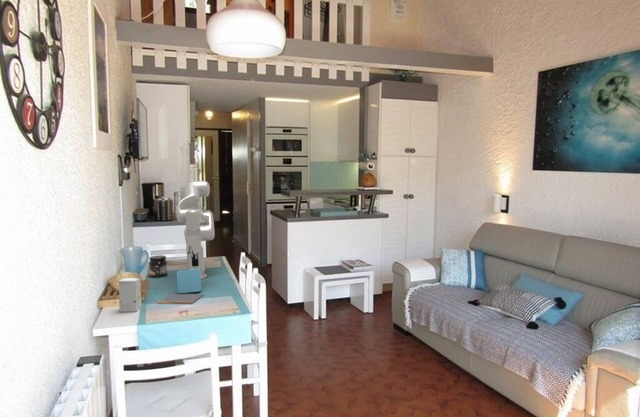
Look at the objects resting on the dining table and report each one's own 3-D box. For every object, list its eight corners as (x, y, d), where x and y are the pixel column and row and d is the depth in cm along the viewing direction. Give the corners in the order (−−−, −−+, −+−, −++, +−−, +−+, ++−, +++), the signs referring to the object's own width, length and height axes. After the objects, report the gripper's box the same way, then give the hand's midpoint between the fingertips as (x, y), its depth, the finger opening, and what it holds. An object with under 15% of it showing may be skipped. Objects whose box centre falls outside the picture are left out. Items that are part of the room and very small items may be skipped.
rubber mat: (171, 294, 235) (171, 293, 235) (204, 295, 233) (203, 294, 233) (158, 302, 222) (158, 301, 222) (193, 303, 219) (193, 302, 219)
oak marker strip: (158, 302, 222) (158, 301, 221) (193, 303, 219) (193, 301, 219) (157, 303, 220) (156, 301, 220) (192, 304, 218) (192, 302, 218)
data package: (201, 291, 241) (199, 268, 243) (201, 291, 237) (200, 268, 238) (177, 293, 237) (176, 270, 239) (177, 293, 233) (176, 270, 235)
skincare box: (119, 312, 209) (117, 280, 207) (125, 308, 215) (122, 277, 213) (137, 311, 209) (135, 280, 207) (142, 307, 215) (140, 277, 213)
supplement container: (147, 276, 279) (145, 257, 278) (163, 273, 286) (162, 254, 285) (153, 278, 271) (152, 259, 270) (170, 275, 278) (169, 256, 277)
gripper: (192, 231, 251) (194, 263, 252) (181, 234, 236) (182, 269, 237) (205, 230, 250) (207, 263, 251) (194, 234, 235) (196, 269, 236)
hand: (195, 266), depth 244 cm, fingers closed
